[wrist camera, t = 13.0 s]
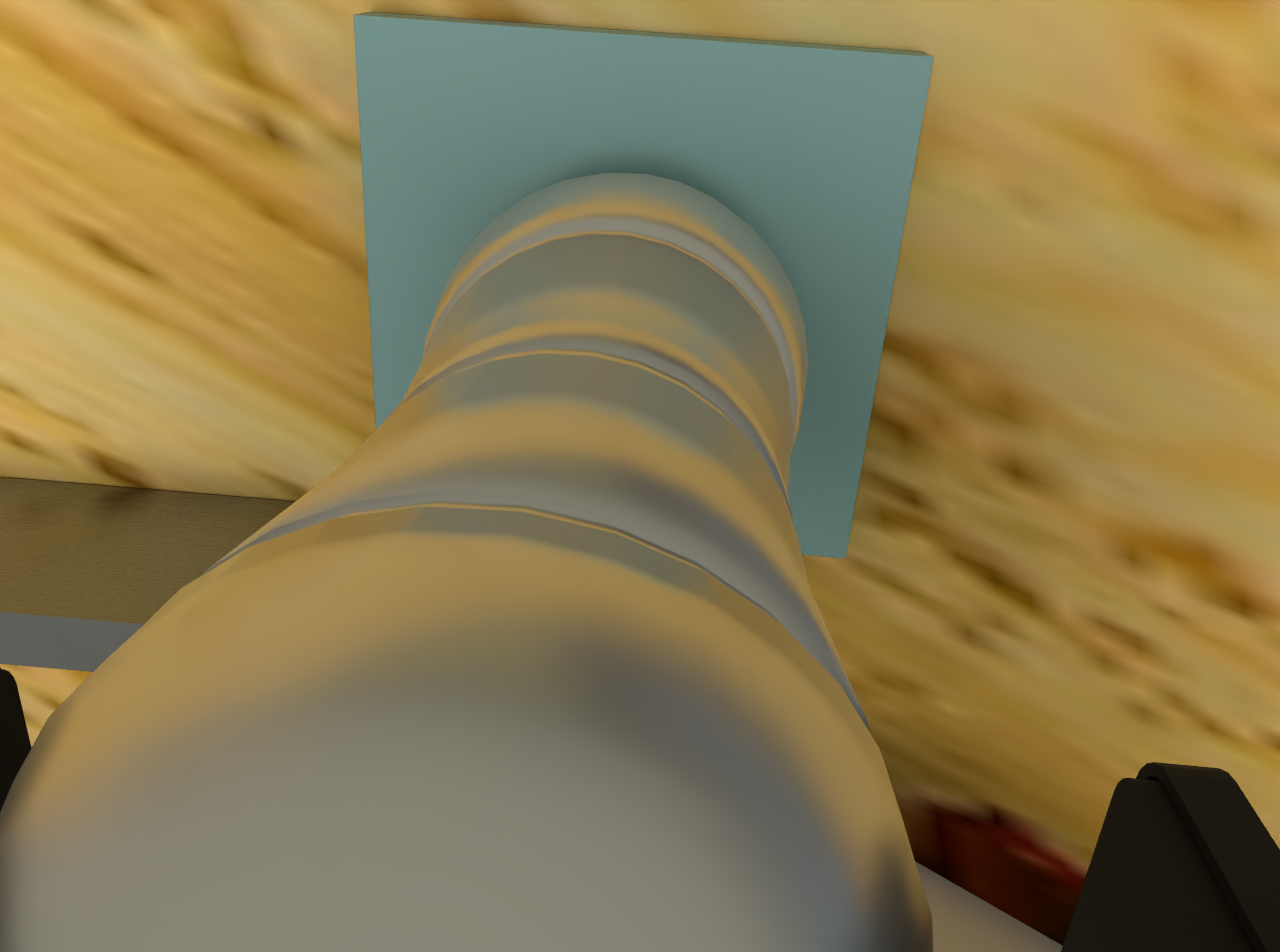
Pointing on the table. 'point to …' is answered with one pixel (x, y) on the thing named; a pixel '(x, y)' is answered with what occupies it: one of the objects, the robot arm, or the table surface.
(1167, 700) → the table surface
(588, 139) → the board
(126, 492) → the square socket
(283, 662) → the plastic bottle
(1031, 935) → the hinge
